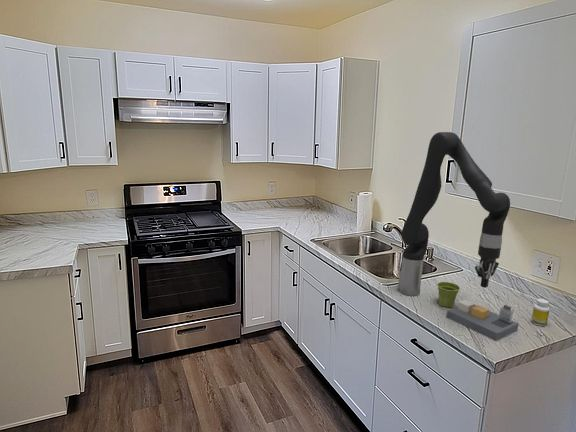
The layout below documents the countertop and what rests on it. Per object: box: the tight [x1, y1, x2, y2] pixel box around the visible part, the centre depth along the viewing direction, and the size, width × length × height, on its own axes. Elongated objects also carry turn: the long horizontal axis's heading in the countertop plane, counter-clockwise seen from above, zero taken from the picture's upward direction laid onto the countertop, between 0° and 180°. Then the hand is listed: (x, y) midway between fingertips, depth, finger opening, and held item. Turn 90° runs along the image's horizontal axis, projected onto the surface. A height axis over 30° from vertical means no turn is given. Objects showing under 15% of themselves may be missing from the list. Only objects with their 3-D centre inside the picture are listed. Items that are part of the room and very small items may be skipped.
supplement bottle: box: [530, 298, 550, 327], centre depth 158 cm, size 5×5×10 cm
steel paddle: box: [498, 304, 514, 323], centre depth 152 cm, size 4×2×6 cm, turn 33°
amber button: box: [471, 305, 490, 320], centre depth 157 cm, size 4×4×4 cm
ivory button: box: [457, 299, 476, 313], centre depth 162 cm, size 4×4×4 cm
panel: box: [446, 304, 520, 342], centre depth 157 cm, size 21×15×3 cm
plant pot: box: [436, 281, 461, 308], centre depth 172 cm, size 9×9×9 cm
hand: (484, 286), depth 154 cm, fingers closed
